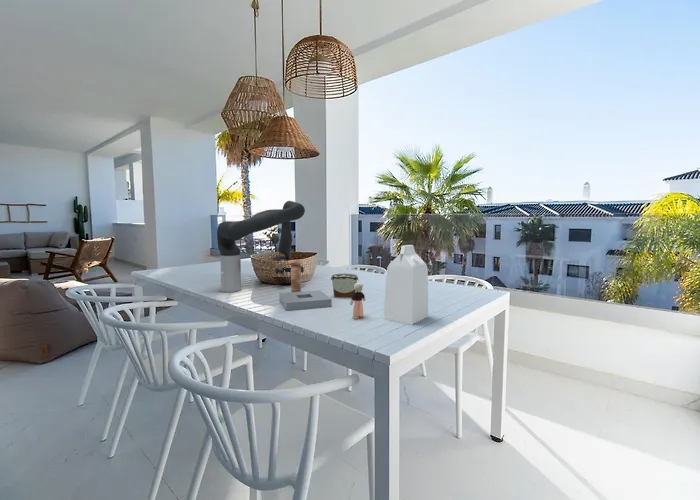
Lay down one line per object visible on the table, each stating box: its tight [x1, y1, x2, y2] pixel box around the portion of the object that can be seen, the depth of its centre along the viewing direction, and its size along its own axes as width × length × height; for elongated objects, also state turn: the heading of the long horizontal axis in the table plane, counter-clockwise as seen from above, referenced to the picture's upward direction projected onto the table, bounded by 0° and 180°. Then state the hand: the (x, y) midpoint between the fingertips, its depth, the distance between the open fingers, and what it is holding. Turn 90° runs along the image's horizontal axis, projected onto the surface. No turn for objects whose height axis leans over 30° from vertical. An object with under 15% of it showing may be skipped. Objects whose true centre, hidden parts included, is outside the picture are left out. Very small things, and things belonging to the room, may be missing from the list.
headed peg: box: [290, 259, 303, 292], centre depth 162 cm, size 6×6×16 cm
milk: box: [383, 244, 429, 325], centre depth 125 cm, size 12×12×26 cm
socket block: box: [278, 289, 333, 311], centre depth 146 cm, size 18×18×3 cm
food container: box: [330, 273, 359, 299], centre depth 158 cm, size 12×6×10 cm, turn 84°
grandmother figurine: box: [349, 281, 366, 320], centre depth 126 cm, size 8×4×13 cm, turn 148°
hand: (291, 271), depth 173 cm, fingers open, 8 cm apart
